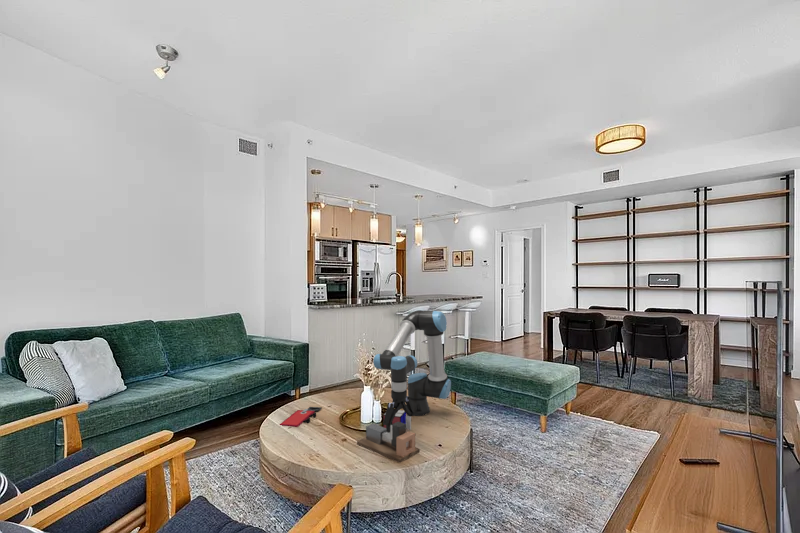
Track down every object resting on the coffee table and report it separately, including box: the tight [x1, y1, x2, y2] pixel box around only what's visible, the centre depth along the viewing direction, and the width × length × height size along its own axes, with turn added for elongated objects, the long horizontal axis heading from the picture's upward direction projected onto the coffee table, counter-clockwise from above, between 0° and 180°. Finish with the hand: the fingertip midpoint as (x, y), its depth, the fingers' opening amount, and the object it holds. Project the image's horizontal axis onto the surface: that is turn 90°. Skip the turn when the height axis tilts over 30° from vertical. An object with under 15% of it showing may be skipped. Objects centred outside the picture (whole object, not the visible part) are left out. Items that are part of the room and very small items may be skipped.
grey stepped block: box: [365, 423, 386, 445], centre depth 194 cm, size 5×10×6 cm, turn 49°
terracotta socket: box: [396, 430, 416, 457], centre depth 181 cm, size 9×4×8 cm, turn 139°
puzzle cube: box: [382, 409, 407, 428], centre depth 209 cm, size 10×10×10 cm
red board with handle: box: [278, 406, 323, 428], centre depth 230 cm, size 30×3×15 cm
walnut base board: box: [356, 436, 420, 464], centre depth 188 cm, size 14×29×2 cm, turn 49°
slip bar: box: [381, 422, 409, 448], centre depth 186 cm, size 5×18×10 cm, turn 49°
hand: (399, 433), depth 184 cm, fingers open, 13 cm apart
